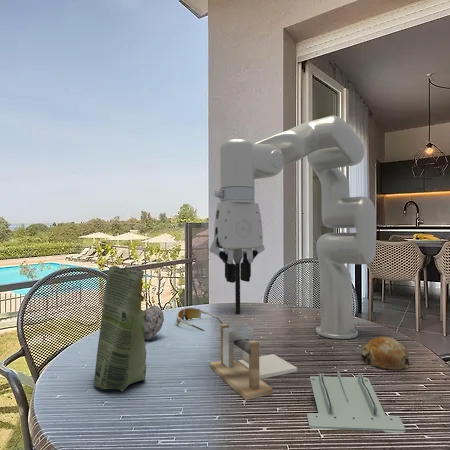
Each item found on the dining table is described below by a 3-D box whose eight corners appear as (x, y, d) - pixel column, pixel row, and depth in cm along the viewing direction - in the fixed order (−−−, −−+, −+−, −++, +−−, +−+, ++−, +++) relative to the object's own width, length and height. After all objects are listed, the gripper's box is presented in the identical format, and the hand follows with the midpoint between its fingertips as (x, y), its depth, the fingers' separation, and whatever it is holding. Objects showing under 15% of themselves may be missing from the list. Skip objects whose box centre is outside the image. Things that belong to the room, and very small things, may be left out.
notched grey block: (247, 358, 77) (247, 325, 77) (253, 363, 74) (253, 328, 74) (222, 363, 74) (222, 328, 75) (228, 368, 72) (228, 331, 72)
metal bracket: (299, 365, 68) (377, 366, 66) (298, 390, 69) (375, 392, 68) (311, 424, 54) (410, 428, 53) (310, 454, 55) (406, 458, 54)
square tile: (273, 357, 87) (273, 354, 87) (297, 371, 78) (297, 367, 78) (238, 363, 83) (238, 360, 83) (259, 379, 74) (259, 375, 74)
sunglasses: (194, 317, 130) (196, 304, 130) (226, 329, 121) (228, 315, 121) (168, 325, 119) (169, 311, 118) (201, 339, 110) (202, 324, 110)
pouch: (104, 371, 79) (105, 262, 79) (156, 372, 78) (156, 262, 79) (83, 394, 67) (84, 267, 68) (143, 395, 67) (143, 267, 68)
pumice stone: (159, 333, 109) (158, 301, 109) (168, 339, 102) (168, 306, 102) (126, 338, 103) (126, 305, 104) (134, 345, 97) (134, 310, 97)
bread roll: (398, 389, 77) (414, 359, 76) (354, 361, 82) (369, 333, 81) (402, 373, 86) (417, 346, 84) (362, 349, 91) (375, 323, 89)
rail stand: (210, 366, 81) (209, 324, 81) (232, 362, 84) (232, 321, 84) (245, 400, 65) (245, 346, 65) (272, 393, 67) (272, 342, 67)
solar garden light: (259, 313, 135) (259, 237, 135) (239, 319, 126) (238, 237, 127) (236, 309, 143) (236, 237, 144) (215, 314, 134) (215, 237, 135)
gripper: (209, 193, 68) (209, 286, 68) (278, 197, 75) (279, 281, 75) (196, 197, 75) (196, 281, 75) (260, 200, 82) (261, 277, 81)
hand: (237, 280), depth 75 cm, fingers open, 2 cm apart
